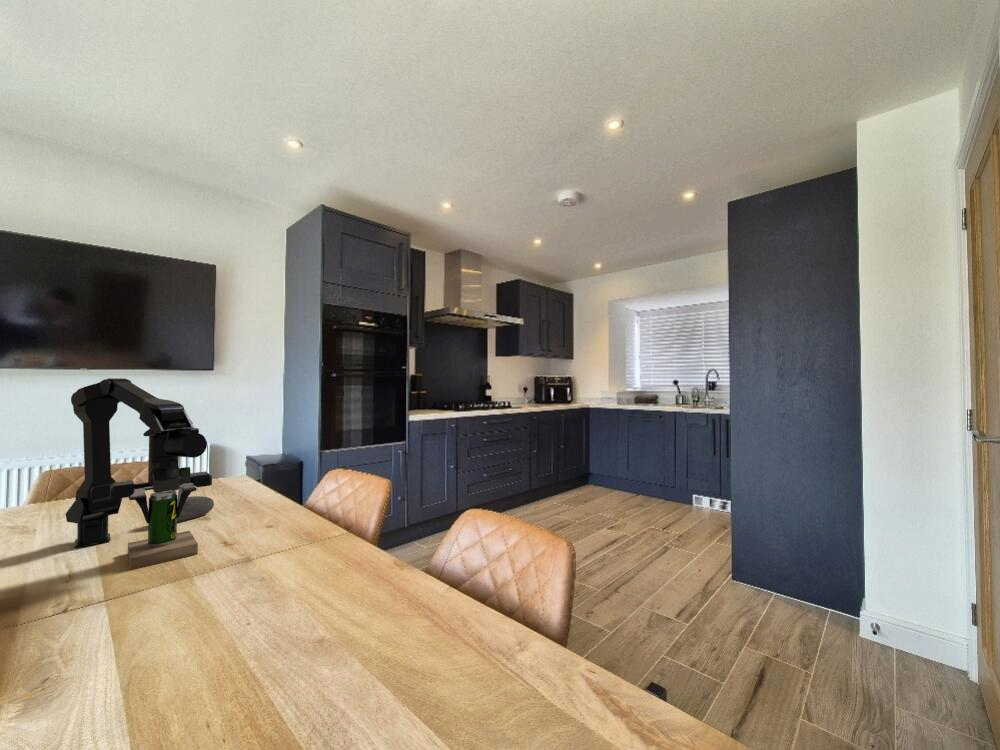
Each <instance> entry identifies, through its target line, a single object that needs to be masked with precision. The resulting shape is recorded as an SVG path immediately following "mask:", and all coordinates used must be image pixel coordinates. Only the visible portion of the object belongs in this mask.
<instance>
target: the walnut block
mask: <svg viewBox="0 0 1000 750" xmlns="http://www.w3.org/2000/svg"><path fill="white" fill-rule="evenodd" d="M198 548H199V543H198V541H197V540H196V538H195V537H194V535H193V534H192V532H191V530H187V531H186V530H185V531H182V532H177V538H176V540H175V542H173V543H171V544H169V545H165V546H160V547H151V546H149V544H148V538H147V539H141V540H136V541H132V542H128V543H127V557H128V561H129V562H128V563H129V567H130V570H135V569H140V568H143V567H144V568H145V567H148V566H152V565H153V566H154V565H157V564H160V563H165V562H169V561H173V560H178V559H183V558H186V557H191V556H196V555H198V552H199V549H198Z"/></svg>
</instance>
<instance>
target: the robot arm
mask: <svg viewBox="0 0 1000 750" xmlns="http://www.w3.org/2000/svg"><path fill="white" fill-rule="evenodd" d="M70 402H71V405H72V408H73V413H74V415H75V416H76V417H77V418H78V419H79V420H80V422H81V423H82V425H83V426H82V428H83V429H82V430H83V431H82V432H83V435H82V436H83V460H84V461H83V462H84V463H83V465H84V480H83V482H82V483H81V484H80V486H79V487H78V489H77V490H76V492H75V499H74V502H73V503H72V504H71V506H70V507H69V508H68V510H67V511H66V512H65V519H66V522H67V523H72V524H77V525H76V526H77V527H76V528H77V529H76V530H77V532H76V539H75V541H74V546H73V547H74V548H75V549H77V548H81V547H87V546H92V545H93V546H94V545H98V544H104V543H108V542H111V533H109V516H112V515H117V514H119V512H120V508H121V505H122V502H123V499H125V498H128V500H129V501H135V502H136V503H137V505H138V506H139V508H140V510H141V511H142V512H141V513H142V515H143V517H144V520H145V522H146V524H148V523H149V512H148V510H149V505H148V498H147V495H146V491H151V490H152V491H153V493H161V492H163V491H170V490H172V491H178V492H177V518H179V516H180V513H181V511H182V508H183V506H184V504H185V501H186V499H187V498H188V497H190V496H189V495H191V493H193V492H197V490H198V488H203V487H209V486H213V477H212V475H211V474H210V473H209V472H207V471H198V472H191V471H192V470H191V467H190V466H186V467H185V466H184V467H180V466H179V465H180V464H179V463H180V461H179V460H180V457H181V458H193V459H194V458H198V457H200V456H201V455H203V454H204V453H205V451H206V449H207V446H208V441H207V439H206V437H205V436H204V435H203V434H202V433H200V429H199V428H198V427H197V428H196V427H195V426H194V423H193V421H192V420H191V419H190V417H189V415H188V413H187V411H186V409H185V406H184V405H183V404H182V403H180V402H177V401H174V400H169V399H164V398H158V397H156V396H154V395H153V394H151V393H149V392H147V391H146V390H144V389H143V388H140V387H139V386H138V385H136V384H135V383H133V382H132V381H131V379H127V378H126V377H125V378H117V377H116V378H115V377H114V378H112V377H111V378H110V377H109V378H106V379H103V380H100V381H99V382H97V383H93V384H89V385H87V386H84V387H81V388H78V389H77V390H76V391H75V392H73V393H72V395H71V396H70ZM119 403H123V404H124V405H126V406H127V407H129V408H131V409H133V410H134V411H135V412H137V413H138V414H139V417H138V418H139V420H140V421H141V422H142V423H143V424H144V425H145V426H147V428H149V429H147V430H146V431H144V433H143V437H148V466H147V467H148V470H147V481H145V482H140V483H135V482H134V480H123V481H116V480H115V479H114V478H113V476H112V465H111V461H112V460H111V457H112V456H111V432H110V431H111V428H110V421H111V420H112V419H113V417H114V416H115V414H116V413H117V412H118V405H119Z"/></svg>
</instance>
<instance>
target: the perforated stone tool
mask: <svg viewBox="0 0 1000 750" xmlns="http://www.w3.org/2000/svg"><path fill="white" fill-rule="evenodd" d="M214 505H215V502H214V500H213V499H212V498H211V497H207V496H201V495H198V496H197V495H196V496H188V498H187V499H186V501H185V504H184V506H183V508H182V511H181V513H180V516H179V518H177V523H181V522H185V521H189V520H193V519H196V518H199V517H202V516H204V515H207V514H209V512H211V511H212V509H214Z"/></svg>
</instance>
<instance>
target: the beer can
mask: <svg viewBox="0 0 1000 750" xmlns="http://www.w3.org/2000/svg"><path fill="white" fill-rule="evenodd" d="M177 499H178V493H177V490H175V491H172V490H169V491H163V492H161V493H155V492H152V493H150V494H149V498H148V512H149V523H147V524H148V525H147V539H148V544H149V546H151V547H160V546H165V545H169V544H171V543H173V542H175V540H176V538H177V533H178V532H177V531H178V522H177Z"/></svg>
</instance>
